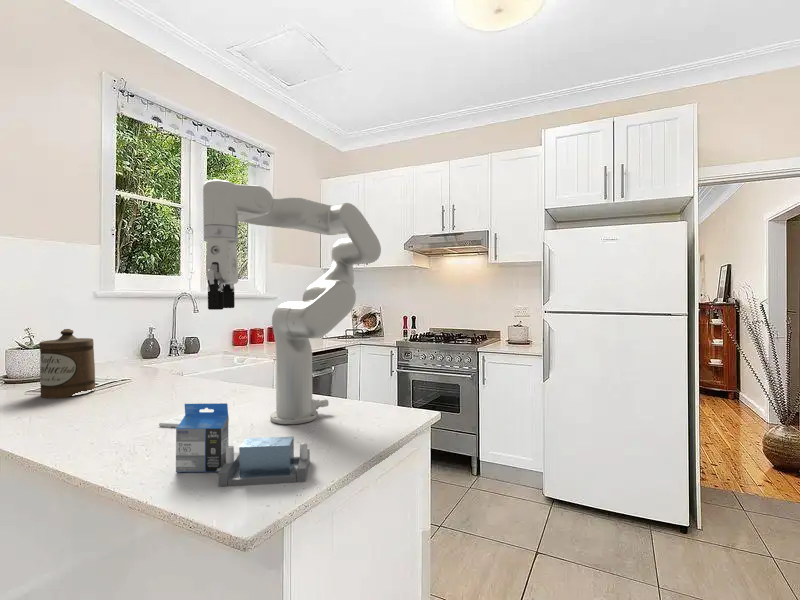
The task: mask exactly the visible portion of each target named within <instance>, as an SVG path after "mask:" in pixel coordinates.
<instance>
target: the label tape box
mask: <svg viewBox="0 0 800 600" xmlns="http://www.w3.org/2000/svg"><path fill="white" fill-rule="evenodd" d="M228 408H229V407H228V403H226V402H225V403H222V402H220V403H184V413H185V416H184V418H183V419H182V421H181V423H180V424H179V425H178V427H177V428H176V429H175V472H176V473H204V472H206V473H207V472H208V473H210V472H217V473H219V471H220V470H221V468H222V467H223V465H224V464H225V463H226V447H227V446H229V419H230V417H229V409H228ZM205 409H207V410H212V411H214V412H199V410H205Z"/></svg>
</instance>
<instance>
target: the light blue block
mask: <svg viewBox="0 0 800 600" xmlns="http://www.w3.org/2000/svg"><path fill="white" fill-rule="evenodd" d="M294 438H295V437H294V436H273V437H270V436H269V437H265V436H264V437H246V438H245V439H244V441H243V442H241V444H240V445H239V449H238V450H239V452H238V453H239V478H245V477H263V476H281V475H292V473H293V471H294V468H295V463H294V457H295V447H294V446H295V441H294V440H295V439H294Z"/></svg>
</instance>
